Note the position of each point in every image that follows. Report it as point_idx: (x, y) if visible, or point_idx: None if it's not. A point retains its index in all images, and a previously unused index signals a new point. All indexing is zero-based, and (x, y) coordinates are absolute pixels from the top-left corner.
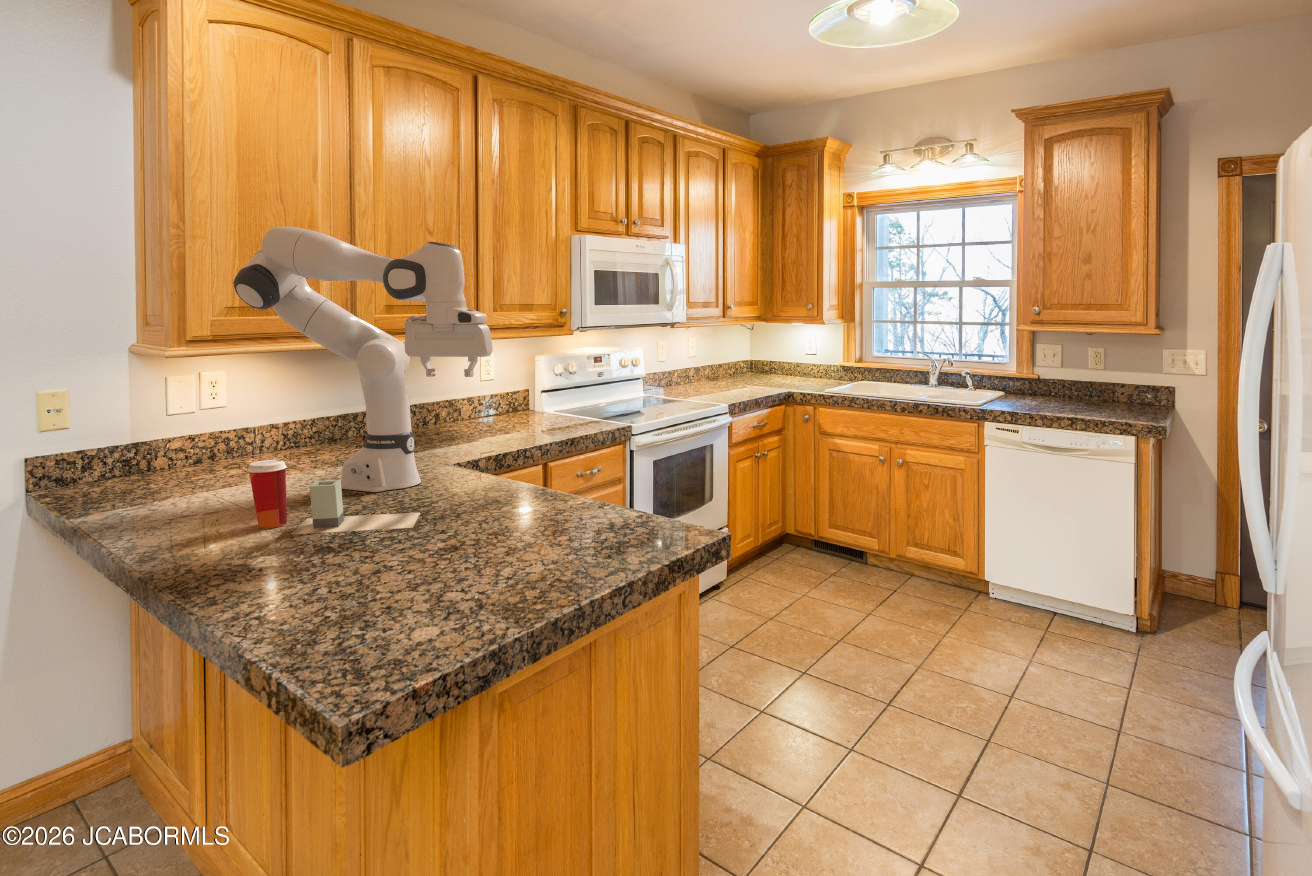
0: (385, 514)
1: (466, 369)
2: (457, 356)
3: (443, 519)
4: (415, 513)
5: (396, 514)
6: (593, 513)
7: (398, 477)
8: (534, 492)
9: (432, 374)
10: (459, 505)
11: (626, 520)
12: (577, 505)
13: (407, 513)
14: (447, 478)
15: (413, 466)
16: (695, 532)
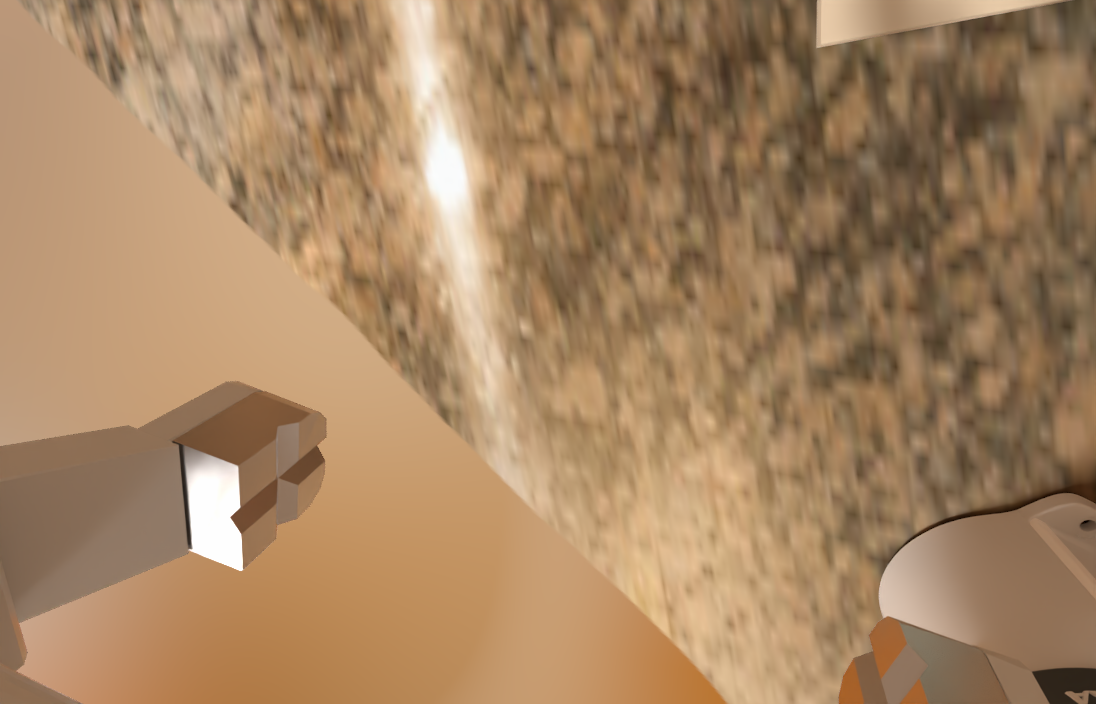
0: (992, 8)
1: (199, 451)
2: (36, 683)
3: (717, 41)
4: (841, 26)
5: (934, 7)
6: (239, 109)
7: (980, 556)
8: (462, 389)
9: (891, 648)
10: (684, 252)
11: (134, 18)
12: (305, 212)
13: (880, 27)
14: (782, 625)
15: (923, 625)
16: None
